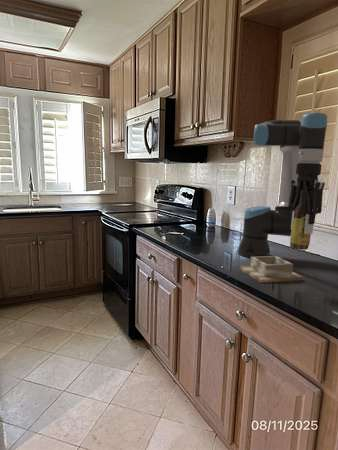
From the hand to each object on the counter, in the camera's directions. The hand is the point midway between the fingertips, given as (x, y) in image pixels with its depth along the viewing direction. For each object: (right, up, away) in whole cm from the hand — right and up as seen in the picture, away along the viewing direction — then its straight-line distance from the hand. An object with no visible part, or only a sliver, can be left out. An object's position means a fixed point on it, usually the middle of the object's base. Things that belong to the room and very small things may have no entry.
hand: (301, 231), depth 108 cm
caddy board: (-6, -17, +16) cm, 24 cm away
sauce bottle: (0, -6, +1) cm, 6 cm away
